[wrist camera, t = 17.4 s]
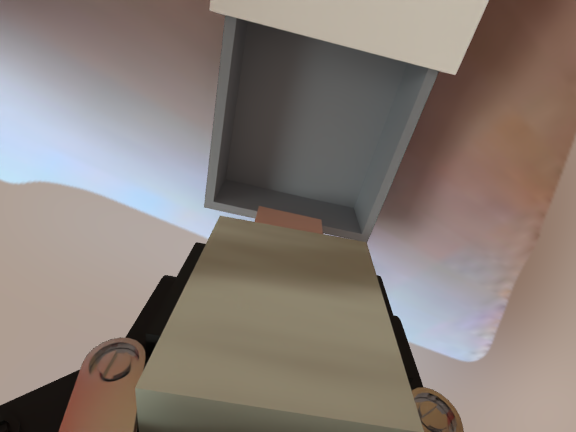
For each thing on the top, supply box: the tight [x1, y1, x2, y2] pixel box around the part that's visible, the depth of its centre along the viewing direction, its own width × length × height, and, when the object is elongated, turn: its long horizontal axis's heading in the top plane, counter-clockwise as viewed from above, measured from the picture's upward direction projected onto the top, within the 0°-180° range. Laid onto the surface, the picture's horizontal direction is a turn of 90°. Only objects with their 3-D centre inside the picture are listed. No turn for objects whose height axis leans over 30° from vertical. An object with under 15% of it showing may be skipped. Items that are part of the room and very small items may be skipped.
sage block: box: [135, 216, 424, 432], centre depth 9 cm, size 5×5×6 cm
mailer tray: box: [204, 15, 439, 243], centre depth 26 cm, size 16×19×13 cm
